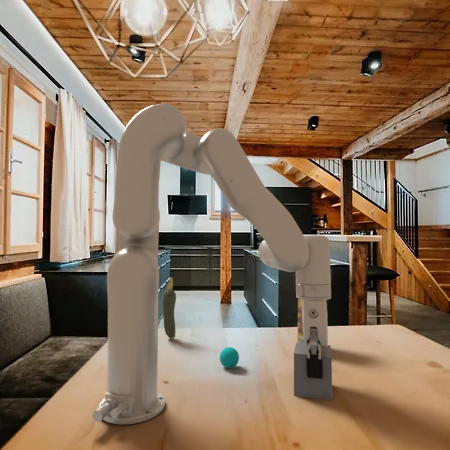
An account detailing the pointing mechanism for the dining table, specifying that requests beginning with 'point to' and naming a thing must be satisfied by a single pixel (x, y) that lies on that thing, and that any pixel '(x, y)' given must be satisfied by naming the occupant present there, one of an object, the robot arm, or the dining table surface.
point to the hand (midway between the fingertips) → (315, 368)
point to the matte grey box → (312, 385)
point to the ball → (229, 357)
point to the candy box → (300, 323)
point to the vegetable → (169, 310)
